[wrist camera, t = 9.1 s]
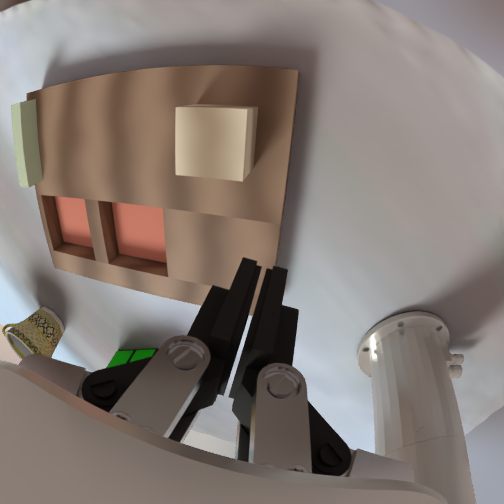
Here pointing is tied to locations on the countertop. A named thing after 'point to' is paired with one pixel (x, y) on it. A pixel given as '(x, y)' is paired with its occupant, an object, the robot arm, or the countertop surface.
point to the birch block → (215, 141)
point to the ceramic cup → (35, 334)
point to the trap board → (154, 177)
